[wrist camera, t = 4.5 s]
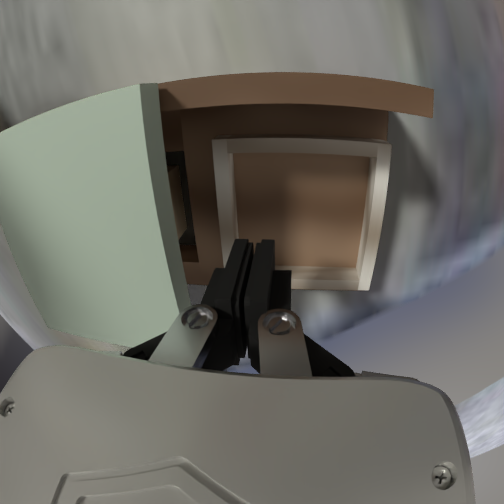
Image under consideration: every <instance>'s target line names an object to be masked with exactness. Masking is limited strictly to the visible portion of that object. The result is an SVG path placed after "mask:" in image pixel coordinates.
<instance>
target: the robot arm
mask: <svg viewBox="0 0 504 504" xmlns="http://www.w3.org/2000/svg"><path fill="white" fill-rule="evenodd" d="M291 276H292V270H275V240H271V239H262V241H261V243H256V248H255V252H254V246H253V242H249V240H248V239H235V240H234V243H233V246H232V249H231V252H230V254H229V257H228V260H227V263H226V266H225V268H215V269H214V271H213V274H212V276H211V279H210V281H209V284H208V286H207V289H206V292H205V294H204V297H203V299H202V302H201V304H197V305H192V306H189V307H187V308H185V309H183V310H182V311H181V312H180V313H179V315H178V316H177V318H176V319H175V321H174V322H173V324H172V325H171V327H170V328H169V330H168V331H167V332H165V333H163V334H161V335H158V336H156V337H154V338H152V339H150V340H148V341H146V342H144V343H142V344H139V345H137V346H135V347H133V348H131V349H129V350H128V351H126V352H125V353H124V354H122V352H121V351H96V350H91V349H86V348H81V347H74V346H61V345H55V346H47V347H43V348H39V349H36V350H34V351H33V352H31V353H30V354H29V355H28V356H27V357H26V358H25V359H24V360H23V362H22V363H21V364H20V366H19V367H18V368H17V369H16V371H15V372H14V374H13V375H12V376H11V378H10V379H9V381H8V383H7V384H6V386H5V388H4V389H3V391H2V392H1V394H0V504H475V493H474V483H473V475H472V467H471V461H470V455H469V450H468V446H467V442H466V438H465V434H464V430H463V427H462V424H461V421H460V418H459V416H458V413H457V411H456V408H455V406H454V405H453V403H452V401H451V400H450V398H449V397H448V396H447V395H446V394H445V393H444V392H443V391H442V390H440V389H439V388H436V387H434V386H432V385H430V384H427V383H423V382H420V381H418V380H417V379H414V378H410V377H402V376H394V375H387V374H380V373H373V372H366V371H362V373H361V374H360V373H354V372H353V370H352V369H351V368H350V367H349V366H347V365H346V364H344V363H343V362H342V361H340V360H339V359H338V358H336V357H335V356H334V355H332V354H331V353H329V352H328V351H326V350H325V349H324V348H323V347H321V346H320V345H318V344H317V343H316V342H314V341H313V340H312V339H310V338H309V337H308V336H306V335H305V334H304V333H303V329H302V324H301V321H300V318H299V317H298V316H297V315H296V314H295V313H294V312H292V311H291ZM247 348H248V358H250V359H251V366H252V367H253V368H254V369H255V370H257V372H258V373H259V374H248V373H236V372H227V368H228V367H230V366H232V365H239V361H240V358H245V354H246V349H247Z"/></svg>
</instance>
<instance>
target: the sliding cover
mask: <svg viewBox="0 0 504 504" xmlns="http://www.w3.org/2000/svg"><path fill="white" fill-rule="evenodd" d="M0 223H1V225H2V228H3V231H4V234H5V237H6V240H7V242H8V245H9V247H10V250H11V252H12V255H13V257H14V260H15V262H16V265H17V267H18V269H19V271H20V274H21V276H22V278H23V280H24V282H25V285H26V287H27V289H28V291H29V293H30V295H31V297H32V299H33V301H34V303H35V305H36V307H37V308H38V310H39V312H40V314H41V316H42V318H43V320H44V321H45V323H46V325H47V327H48V328H51V329H54V330H58V331H61V332H65V333H69V334H73V335H77V336H81V337H85V338H89V339H93V340H98V341H102V342H107V343H111V344H116V345H121V346H126V347H131V348H133V347H135V346H137V345H139V344H142V343H144V342H146V341H148V340H150V339H152V338H154V337H156V336H158V335H161V334H163V333H165V332H167V331H168V330H169V328H170V327H171V325H172V324H173V322H174V321H175V319H176V318H177V316H178V315H179V313H180V312H181V311H182V310H183V309H185V308H187V307H189V306H191V301H190V297H189V292H188V287H187V283H186V278H185V273H184V268H183V263H182V258H181V252H180V247H179V241H178V236H177V230H176V224H175V218H174V212H173V206H172V200H171V193H170V186H169V180H168V172H167V165H166V157H165V149H164V141H163V132H162V123H161V113H160V102H159V90H158V83H148V84H136V85H132V86H128V87H124V88H120V89H116V90H112V91H108V92H105V93H101V94H97V95H94V96H91V97H87V98H84V99H81V100H78V101H75V102H72V103H69V104H66V105H63V106H61V107H58V108H55V109H52V110H50V111H47V112H45V113H42V114H40V115H37V116H35V117H32V118H30V119H28V120H25V121H23V122H21V123H19V124H17V125H14V126H12V127H10V128H8V129H6V130H4V131H2V132H0Z"/></svg>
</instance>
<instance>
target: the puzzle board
mask: <svg viewBox="0 0 504 504" xmlns="http://www.w3.org/2000/svg"><path fill="white" fill-rule="evenodd" d="M158 90H159V102H160V113H161V123H162V132H163V141H164V149H165V152H174V151H184V155H185V164H186V172H187V181H188V189H189V197H190V204H191V212H192V219H193V226H194V233H195V240H196V245H182V244H179V247H180V252H181V258H182V263H183V268H184V273H185V278H186V283H187V284H195V285H208V284H209V281H210V279H211V276H212V274H213V271H214V269H215V268H225V266H226V263H227V260H228V257H229V254H230V252H231V249H232V246H233V243H234V240H235V239H248V240H249V242H253V246H254V252H255V248H256V243H261V241H262V239H271V240H275V270H292V276H291V289H306V290H353V291H365V290H369V288H370V283H371V279H372V274H373V270H374V265H375V260H376V255H377V250H378V245H379V239H380V234H381V228H382V222H383V216H384V209H385V202H386V195H387V187H388V179H389V170H390V160H391V149H392V145H391V144H390V143H388V142H387V132H388V111H394V112H400V113H407V114H413V115H418V116H424V117H429V118H433V99H434V89H430V88H425V87H421V86H416V85H411V84H406V83H400V82H395V81H389V80H382V79H375V78H367V77H359V76H349V75H338V74H324V73H299V72H269V73H243V74H229V75H217V76H208V77H199V78H191V79H184V80H177V81H171V82H165V83H160V84H158Z"/></svg>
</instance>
